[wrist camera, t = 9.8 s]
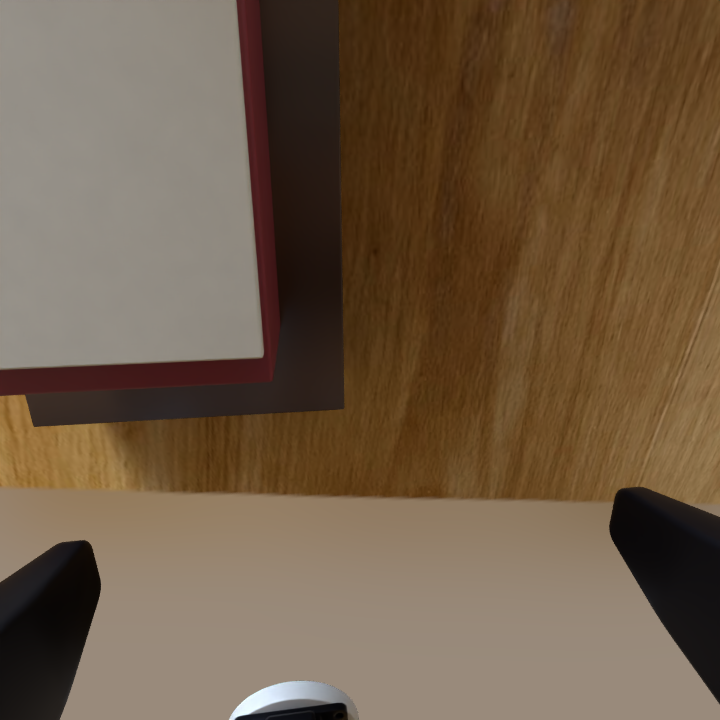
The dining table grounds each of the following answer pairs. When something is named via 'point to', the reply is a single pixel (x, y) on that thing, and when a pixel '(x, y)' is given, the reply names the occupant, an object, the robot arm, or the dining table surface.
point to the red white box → (134, 196)
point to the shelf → (292, 242)
